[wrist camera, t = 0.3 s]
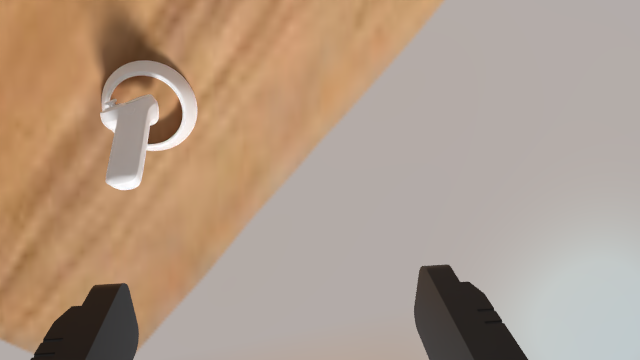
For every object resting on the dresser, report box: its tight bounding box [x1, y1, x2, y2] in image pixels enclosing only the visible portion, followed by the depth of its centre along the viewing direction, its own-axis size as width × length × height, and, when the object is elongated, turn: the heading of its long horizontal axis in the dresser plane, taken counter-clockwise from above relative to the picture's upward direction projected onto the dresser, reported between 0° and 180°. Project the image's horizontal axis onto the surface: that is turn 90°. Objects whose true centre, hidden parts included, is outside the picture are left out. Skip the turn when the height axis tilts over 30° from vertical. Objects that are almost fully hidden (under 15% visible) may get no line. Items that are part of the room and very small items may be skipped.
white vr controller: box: [100, 60, 197, 190], centre depth 34 cm, size 8×12×7 cm
